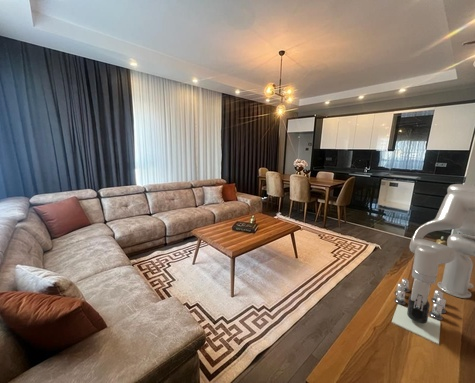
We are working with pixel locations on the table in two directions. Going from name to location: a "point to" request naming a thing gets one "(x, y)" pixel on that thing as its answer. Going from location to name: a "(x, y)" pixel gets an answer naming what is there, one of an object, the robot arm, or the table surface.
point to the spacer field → (437, 300)
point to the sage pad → (417, 325)
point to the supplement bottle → (425, 309)
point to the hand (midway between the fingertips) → (417, 311)
